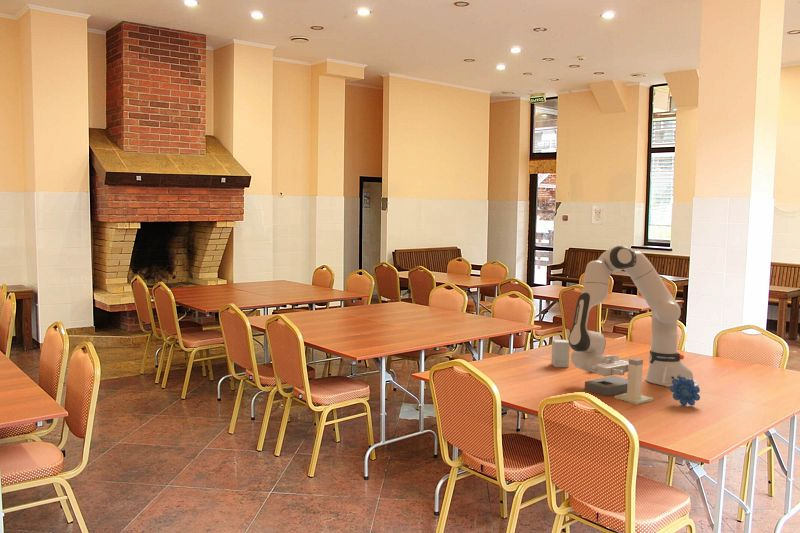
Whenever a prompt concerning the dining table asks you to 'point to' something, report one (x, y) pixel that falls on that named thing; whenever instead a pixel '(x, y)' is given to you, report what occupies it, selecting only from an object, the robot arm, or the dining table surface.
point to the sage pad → (634, 401)
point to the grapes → (685, 391)
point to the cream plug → (634, 378)
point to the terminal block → (607, 385)
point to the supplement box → (560, 353)
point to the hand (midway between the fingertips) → (630, 371)
